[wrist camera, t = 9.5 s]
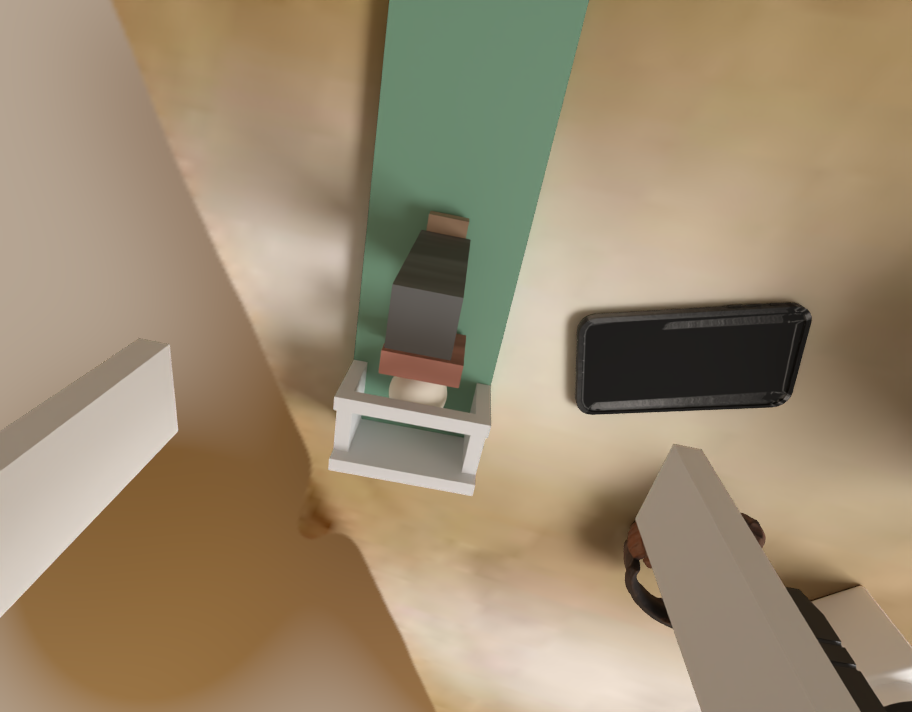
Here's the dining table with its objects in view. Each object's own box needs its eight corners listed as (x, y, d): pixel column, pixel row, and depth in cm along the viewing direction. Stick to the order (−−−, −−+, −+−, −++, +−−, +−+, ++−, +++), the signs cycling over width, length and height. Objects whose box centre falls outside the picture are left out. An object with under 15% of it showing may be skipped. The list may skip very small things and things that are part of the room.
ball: (381, 428, 33) (392, 390, 36) (439, 438, 33) (445, 400, 36) (385, 383, 30) (397, 347, 34) (448, 395, 31) (453, 358, 34)
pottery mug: (710, 580, 45) (691, 659, 39) (621, 514, 48) (591, 579, 42) (808, 519, 37) (803, 607, 31) (696, 444, 40) (672, 512, 34)
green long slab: (400, -72, 24) (376, -122, 19) (593, -29, 25) (622, -67, 19) (349, 424, 39) (327, 475, 33) (472, 447, 39) (470, 501, 34)
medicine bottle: (805, 649, 48) (896, 804, 37) (780, 609, 46) (870, 762, 35) (883, 626, 46) (1003, 784, 35) (862, 582, 43) (984, 737, 33)
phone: (788, 406, 35) (576, 415, 36) (780, 398, 36) (574, 407, 37) (816, 304, 31) (579, 318, 33) (805, 297, 32) (576, 311, 34)
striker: (409, 206, 29) (370, 256, 20) (490, 222, 29) (492, 280, 20) (391, 342, 34) (351, 438, 24) (461, 355, 34) (451, 457, 24)
